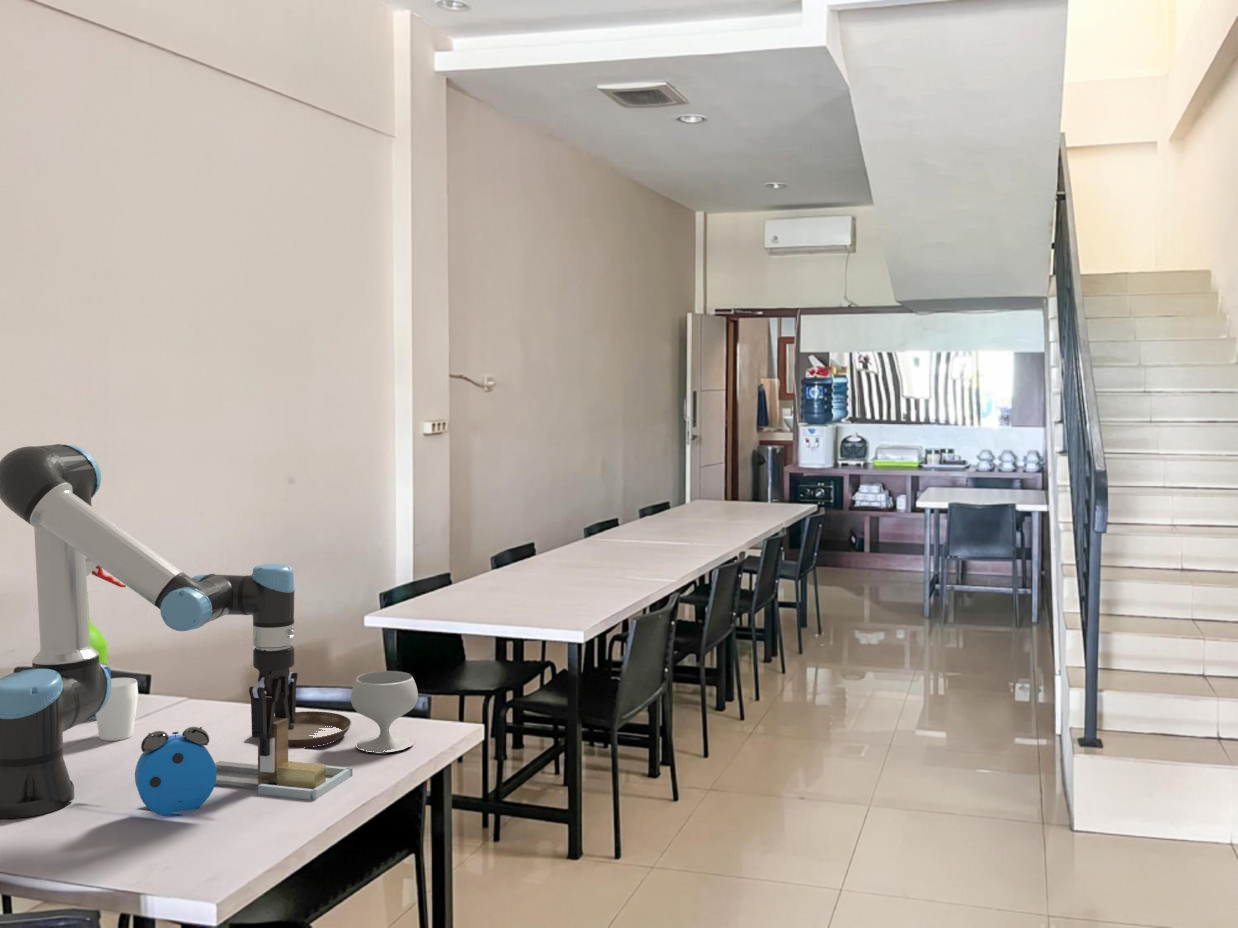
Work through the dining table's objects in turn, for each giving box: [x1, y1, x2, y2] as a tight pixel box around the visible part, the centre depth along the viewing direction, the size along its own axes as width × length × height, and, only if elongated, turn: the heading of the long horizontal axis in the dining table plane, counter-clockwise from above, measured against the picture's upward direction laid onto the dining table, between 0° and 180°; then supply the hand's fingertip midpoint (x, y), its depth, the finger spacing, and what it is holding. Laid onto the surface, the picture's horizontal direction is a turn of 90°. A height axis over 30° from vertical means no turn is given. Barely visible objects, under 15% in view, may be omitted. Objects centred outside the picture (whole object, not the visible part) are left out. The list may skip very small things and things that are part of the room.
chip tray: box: [257, 765, 353, 801], centre depth 216 cm, size 14×12×2 cm
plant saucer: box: [274, 710, 352, 749], centre depth 249 cm, size 21×21×3 cm
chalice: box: [350, 670, 419, 752], centre depth 243 cm, size 14×14×15 cm
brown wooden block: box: [257, 717, 289, 783], centre depth 217 cm, size 4×4×11 cm
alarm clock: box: [134, 726, 217, 817], centre depth 203 cm, size 13×6×15 cm, turn 118°
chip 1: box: [276, 760, 307, 788], centre depth 216 cm, size 4×4×4 cm
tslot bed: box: [214, 760, 277, 791], centre depth 219 cm, size 10×16×2 cm, turn 75°
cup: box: [96, 677, 139, 742], centre depth 248 cm, size 9×9×12 cm
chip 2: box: [296, 762, 327, 789], centre depth 215 cm, size 4×4×4 cm
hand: (274, 767), depth 217 cm, fingers closed on brown wooden block, 4 cm apart
